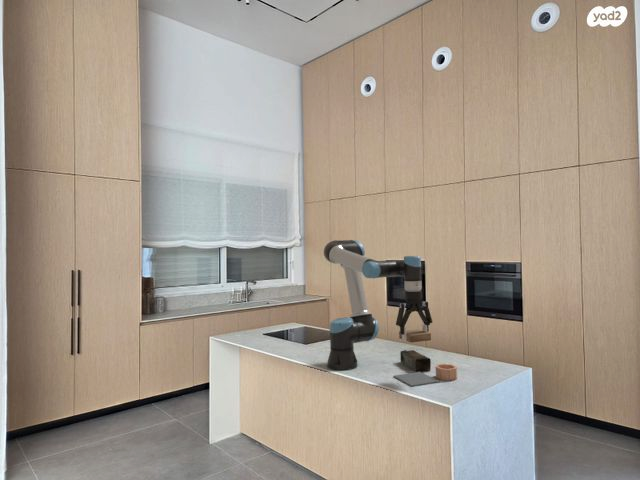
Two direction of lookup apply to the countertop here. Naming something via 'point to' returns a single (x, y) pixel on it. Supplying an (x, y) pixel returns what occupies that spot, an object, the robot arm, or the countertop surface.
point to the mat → (416, 379)
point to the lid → (416, 336)
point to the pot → (446, 372)
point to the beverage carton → (415, 361)
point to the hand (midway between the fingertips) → (414, 340)
